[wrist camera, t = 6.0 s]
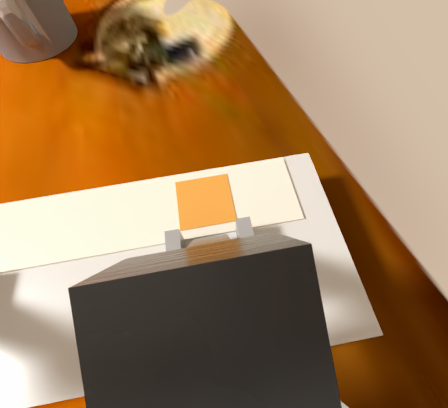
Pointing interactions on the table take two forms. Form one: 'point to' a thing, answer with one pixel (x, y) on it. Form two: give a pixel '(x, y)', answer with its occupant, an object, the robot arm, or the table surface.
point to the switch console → (149, 244)
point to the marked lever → (207, 328)
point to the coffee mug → (34, 29)
